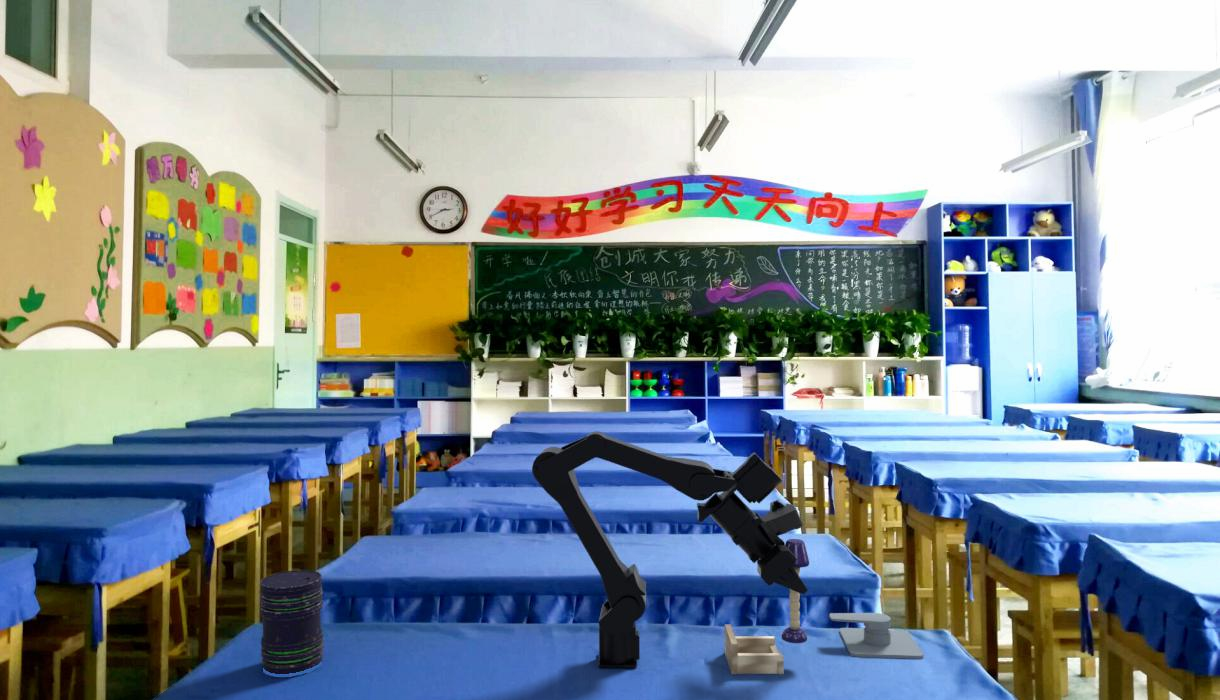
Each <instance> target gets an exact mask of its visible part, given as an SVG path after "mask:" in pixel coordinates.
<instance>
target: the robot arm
mask: <svg viewBox="0 0 1220 700" xmlns="http://www.w3.org/2000/svg"><path fill="white" fill-rule="evenodd" d="M595 458H596V459H601V460H604V461H607V462H609V463H612V464H614V465H618V466H620V467H623V468H626V469H630V470H632V471H636V472H637V473H641V474H644V475H647V476H650V477H652V478H655V479H658V480H660V481H662V482H663V483H665V484H667V485H668V486H670V487H672V488H673V489H674V490H676V491H678V492H679V493H681V494H683V495H685V496H687V497H688V498H690V499H692V500H695V501H705V500H707V501H705V502H697V503H696V507H697V508H696V509H697V514H696V515H697V520H698V522H699V523H703V522H704V521H705V520H706V519H707V518H708V517H710V518H711V519H712V520H713V521H714V522H716V525H718V526H719V527H720V528H721V529H722V530H723V531H724V532H725V533H726V534H727V535H728V537H729V538H730V539H731V540H732V542H733V543H734V545H736V546H739V548H740V549H741V550H742V551H743V552H744V553H745V555H747V556H748V558H749V560H750V561H751V562H752V564H755V563H756V564H757V565H756V567H757V568H756V570H757V573H758V576H759V577H760V579H762V580H763V582H764V583H766V584H767V586H772V585H773V584H776V585H779V586H782V587H783V588H786V589H788V590H790V589H791V590H793V591H796V592H798V593H799V594H800V595H805V594H806V593H807V592H808V588H807V586H806V585H805V583H804V582H803V580H802V579H801V577H799V576H800V575H799V576H798V574H797V573H796V571H795V569H794V568H793V564H794V563H795V562H796V560H797V558H796V557H795V556H794V554H793V553H792V552H791V551H790V550H789V549H788V548H787V547H786V546H785V544H786V542H785V541H784V539H782V538H780V537H779V536H781V535H784V534H787V533H789V532H791V531H793V530H798V529H801V528H803V527H804V524H803V521H802V519H801V517H800V514H799V512H798V510H797V507H795V505H793V504H792V503H789V502H788V503H786V504H784V503H782V502H781V501H780V500H779V499H776V500H773V501H772V502H770V504H769V511H766V514H764V515H762V516H761V515H760V514H759V513H758V512H757V511H756V512H754V511H753V510H752V509H751V508H750V507H749V506H748V505H747V504H746V503H745V501H747V503H749V504H752V503H753V504H755V503H757V504H760V503H762V502H763V501H764V500H765V499H766V498H767V497H768V496H769V495H770V494H771V493H772V492H774V490H775V489H777V488H778V487H779V486H780V485H781V484H782V483H784V480H783V479H782V478H781V476H780V475H779V474H777V472H776V471H775V470H774V469H773V468H772V467H771V466H770V464H768V463H766V462H764V460H762V458H761V457H760V456H759V455H758V454H757V453H756V452H752V453H751V454H750V455H749V456H748V457H747V458H746V460H745V461H744V462H743V463H742V464H741V465H740V466H738V468H737V469H735V470H734V471H733V472H732V471H729V470H723V469H718V468H713V467H712V466H711V465H710V464H709V463H707V461H706V462H705V461H703V460H697V459H692V458H685V457H673V456H667V455H664V454H661V453H658V452H655V451H652V450H650V449H646V448H643V447H640V446H638V445H634V444H632V443H629V442H626V441H623V440H620V439H617V438H615V437H612V436H609V435H607V434H605V433H603V432H601V431H598V430H597V431H591V432H590V433H589V434H587V435H586V436H584V437H582V438H579V439H577V440H574V441H571V442H570V443H568V444H566V445H563V446H562V447H558V446H549V447H546V448H545V449H544V450H542V451H541V452H540V453H539V454H538V455H537V456H536V458H535V459H534V460H533V462H532V468H531V472H532V476H533V478H534V479H535V481H536V482H537V483H538V484H539V485H540V487H542V489H543V490H544V491H545V492H546V493H547V494H548V495H549V496H550V497H551V499H553V500H554V501H555V502H556V503H557V504H558V505H559V506H560V507H561V509H562V511H563V513H564V514H565V516H566V518H567V520H568V521H569V523H570V525H571V527H572V528H573V530H574V532H575V534H576V535H577V537H578V539H579V540H580V542H581V544H582V546H583V547H584V549H585V551H586V552H587V554H588V556H589V558H590V559H591V561H592V563H593V564H594V567H595V568H596V570H597V572H598V573H599V575H600V577H601V581H602V582H601V583H602V585H603V588H604V592H605V595H606V596H605V597H606V598H607V599H606V600H605V602H603V604H602V607H601V610H600V615H599V618H598V619H599V620H598V658H597V659H598V661H597V666H598V668H637V667H638V661H639V660H640V657H641V656H640V647H641V646H640V631H639V630H637V621H638V620H640V619H641V618H642V617H643V615H644V614H645V610H646V604H647V603H646V602H647V591H646V590H647V589H646V588H647V581H646V580H645V579H643V577H642V576H641V574H640V573H639V570H638V568H637V565H636V563H633V564H632V565H630V566H629V567H628V566H627V565H626V564H625V563H623V562H622V561H621V559H620V557H619V555H618V554H617V553H616V551H615V549H614V547H613V545H612V544H611V541H609V539H608V537H607V535H606V534H605V532H604V530H603V529H602V527H601V525H600V523H599V521H598V520H597V517H596V515H595V514H594V512H593V511H592V510H591V507H590V506H589V503H588V502H587V500H586V499H585V497H584V495H583V494H582V491H581V489H580V486H579V483H578V479H577V475H576V471H575V469H577V468H578V467H581V466H582V465H584V464H586V463H587V462H590V461H591V460H593V459H595ZM736 491H737V492H738V493H739V494H740V495H741V497H742V498H744V499H745V501H743V500H742V499H741V498H740V497H739V495H737V493H735V492H736ZM719 493H720V494H719Z"/></svg>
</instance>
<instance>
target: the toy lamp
mask: <svg viewBox="0 0 1220 700" xmlns="http://www.w3.org/2000/svg"><path fill="white" fill-rule="evenodd" d="M785 546H786V547H787V548H788V549H789V550H790V551H791V552H792V553H793V554H794V556H795V557H796V558H797V560H796V562H795V563H794V564H793V568H794V569H795V571H796V573H797V574H798V576H799V577H800V573H801V568H806V567H809V565H810V559H809V555H808V551H807V547H806V544H805V541H804V540H802V539H799V538H798V539H797V538H789V539H787V540H786V541H785ZM800 578H801V577H800ZM789 591H790V592H789V594H788V595H789V609H790V610H789V618H790V619H789V626H788V627H786V628H785V629H784V630H783V632H782V634H781V640H782V641H784V642H787V643H790V644H804V643H806V642H807V641H808V636H807V633H806V632H805V630H804V629H803V628H800V627H801V622H800V618H801V612H800V607H801V604H800V598H801V597H800V595H801V593H798V592H796V591H793V590H791V589H789Z"/></svg>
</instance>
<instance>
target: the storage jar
mask: <svg viewBox="0 0 1220 700" xmlns="http://www.w3.org/2000/svg"><path fill="white" fill-rule="evenodd" d="M322 577H323V575H322V574H321V573H320V572H319V571H315V570H307V569H301V570H298V569H297V570H287V571H281V572H277V573H273V574H270V575H267V576H265V577H264V578H262V579H261V580H260V596H259V602H260V603H259V605H260V615H261V617H262V636H261V638H260V639H261V641H260V645H261V646H260V647H261V648H260V655H261V662H262V666H263V668H264V669H265V670H266V671H268V672H270V673H275V674H289V673H296V672H300V671H304V670H306V669H309V668H312V667H314V666H316V665H318V664H319V663H320V662H321V661H322V658H323V654H324V653H323V652H324V651H323V649H324V632H323V629H322V616H321V613H322V611H321V610H322V609H323V604H324V602H323V595H324V594H323V585H322V580H323V579H322Z"/></svg>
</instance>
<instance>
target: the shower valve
mask: <svg viewBox="0 0 1220 700" xmlns="http://www.w3.org/2000/svg"><path fill="white" fill-rule="evenodd" d="M829 619H830V620H831V621H833V622H845V623H846V622H847V623H859V624H860V623H861V624H863V625H864V627H862V628H861V627H860V628H859V627H840V628H839V634H840V637H841V638H842V641H843V643H844V645H845V646H846V649H847V651H848V653H849V655H850V656H852V657H859V658H882V659H883V658H884V659H885V658H886V659H887V658H888V659H911V660H912V659H915V660H916V659H917V660H919V659H920V660H921V659H924V653H923V651H922V649H921V648H920V646H919V645H918V644H917V642H916V641H915V639H914V638H913V636H912V634H911V633H910V632H909V631H908V630H906V631H892V630H899V629H896V628H895V629H894V628H892V629H891V627H892V622H891V617H890V616H889V615H887V614H884V613H879V612H844V613H843V612H838V613H837V612H835V613H834V612H830V613H829ZM888 629H891V630H888Z"/></svg>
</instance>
